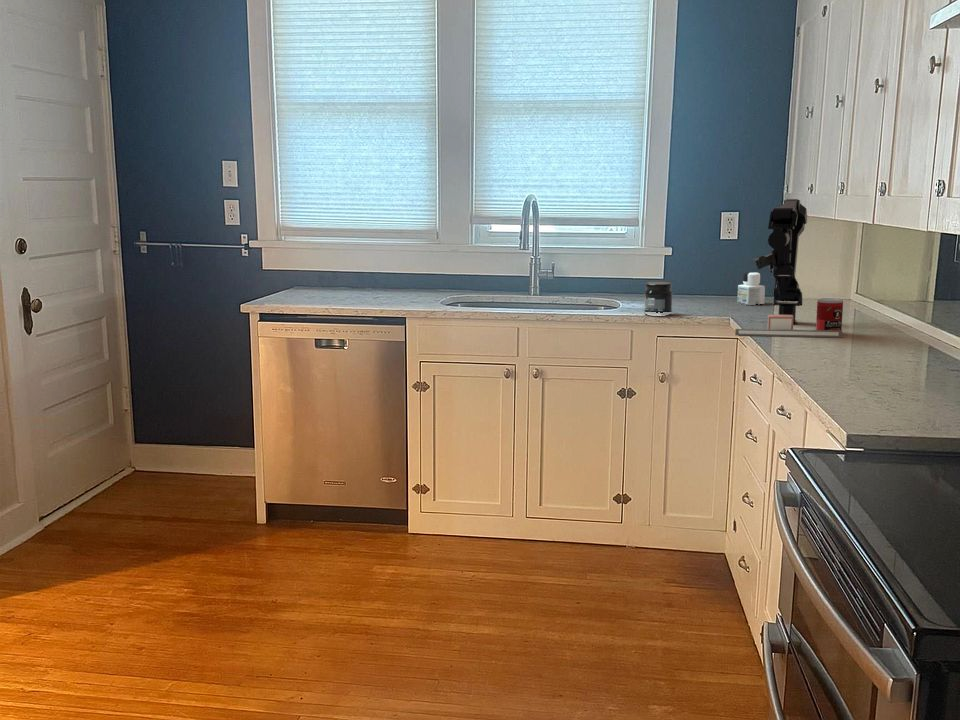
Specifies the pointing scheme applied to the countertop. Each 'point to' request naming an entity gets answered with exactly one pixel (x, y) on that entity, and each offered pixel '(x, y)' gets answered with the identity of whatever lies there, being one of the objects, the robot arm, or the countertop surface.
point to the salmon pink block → (780, 322)
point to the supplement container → (658, 297)
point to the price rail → (788, 333)
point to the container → (751, 289)
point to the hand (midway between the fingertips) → (780, 293)
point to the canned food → (829, 314)
